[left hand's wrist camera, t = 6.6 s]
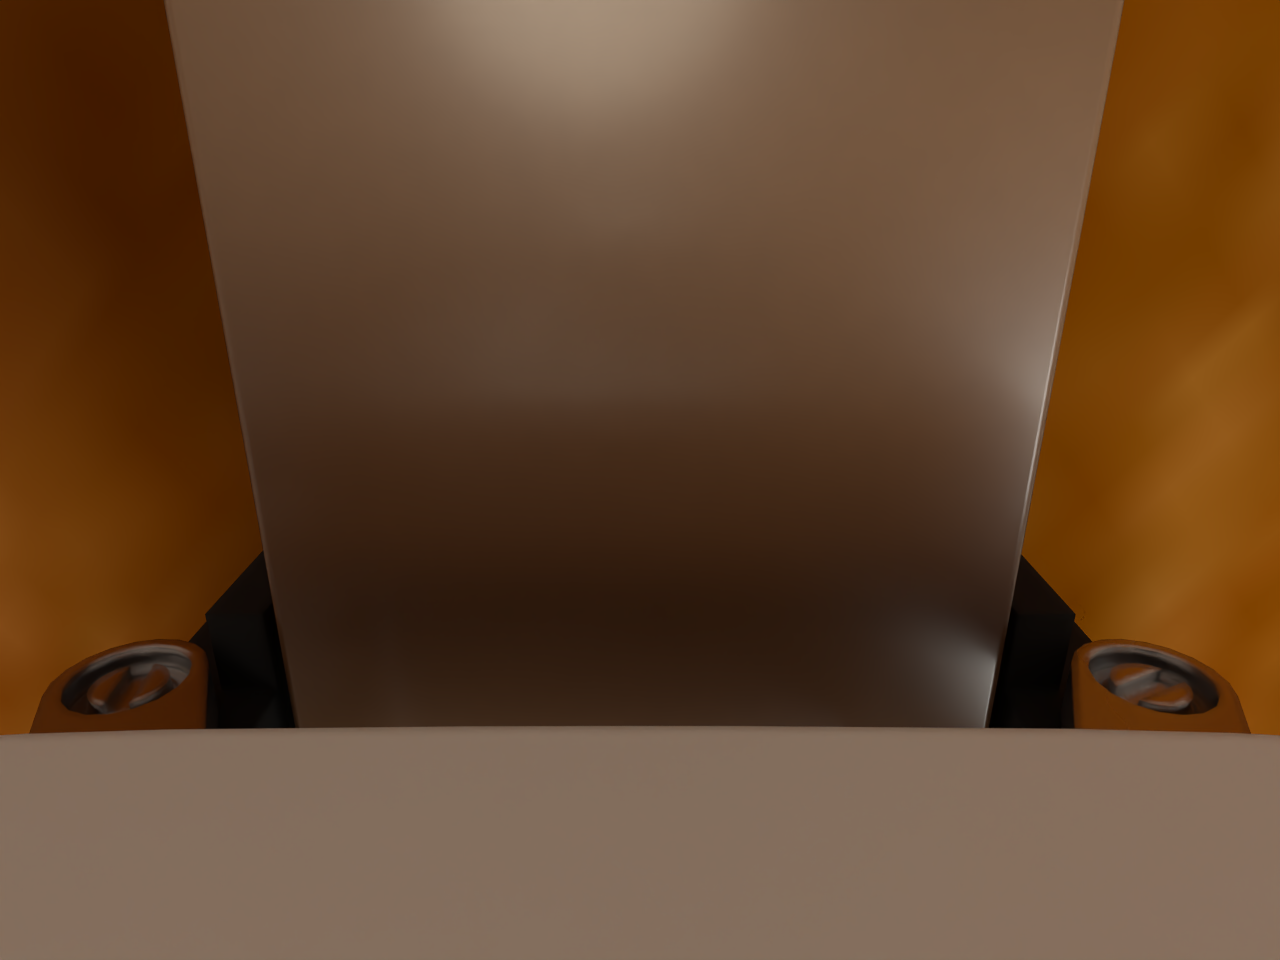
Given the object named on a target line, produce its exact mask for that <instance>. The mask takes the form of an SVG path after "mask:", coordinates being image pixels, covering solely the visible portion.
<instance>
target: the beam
mask: <svg viewBox="0 0 1280 960" xmlns="http://www.w3.org/2000/svg"><path fill="white" fill-rule="evenodd" d="M1123 4H1124V0H164V5H165V10H166V16H167V21H168V27H169V32H170V38H171V43H172V49H173V54H174V60H175V65H176V71H177V76H178V82H179V87H180V93H181V99H182V104H183V110H184V115H185V121H186V126H187V132H188V137H189V143H190V148H191V154H192V159H193V165H194V170H195V176H196V181H197V187H198V192H199V198H200V203H201V209H202V214H203V220H204V226H205V231H206V237H207V242H208V248H209V253H210V259H211V264H212V270H213V275H214V281H215V286H216V292H217V297H218V303H219V308H220V314H221V319H222V325H223V330H224V336H225V342H226V347H227V353H228V358H229V364H230V369H231V375H232V380H233V386H234V391H235V397H236V402H237V408H238V413H239V419H240V424H241V430H242V435H243V441H244V446H245V452H246V458H247V463H248V469H249V474H250V480H251V485H252V491H253V496H254V502H255V507H256V513H257V518H258V524H259V529H260V535H261V540H262V546H263V551H264V557H265V562H266V568H267V574H268V579H269V585H270V590H271V596H272V601H273V607H274V612H275V618H276V623H277V629H278V634H279V640H280V645H281V651H282V656H283V662H284V667H285V673H286V678H287V684H288V690H289V695H290V701H291V706H292V712H293V717H294V723H295V728H360V727H455V726H789V727H909V728H989V724H990V718H991V713H992V707H993V702H994V697H995V691H996V686H997V681H998V675H999V670H1000V664H1001V659H1002V654H1003V648H1004V643H1005V638H1006V632H1007V627H1008V622H1009V616H1010V611H1011V605H1012V600H1013V595H1014V589H1015V584H1016V579H1017V573H1018V568H1019V562H1020V557H1021V552H1022V546H1023V541H1024V536H1025V530H1026V525H1027V519H1028V514H1029V509H1030V503H1031V498H1032V493H1033V487H1034V482H1035V477H1036V471H1037V466H1038V460H1039V455H1040V450H1041V444H1042V439H1043V434H1044V428H1045V423H1046V417H1047V412H1048V407H1049V401H1050V396H1051V391H1052V385H1053V380H1054V374H1055V369H1056V364H1057V358H1058V353H1059V348H1060V342H1061V337H1062V331H1063V326H1064V321H1065V315H1066V310H1067V305H1068V299H1069V294H1070V289H1071V283H1072V278H1073V272H1074V267H1075V262H1076V256H1077V251H1078V246H1079V240H1080V235H1081V229H1082V224H1083V219H1084V213H1085V208H1086V203H1087V197H1088V192H1089V186H1090V181H1091V176H1092V170H1093V165H1094V160H1095V154H1096V149H1097V144H1098V138H1099V133H1100V127H1101V122H1102V117H1103V111H1104V106H1105V101H1106V95H1107V90H1108V84H1109V79H1110V74H1111V68H1112V63H1113V58H1114V52H1115V47H1116V41H1117V36H1118V31H1119V25H1120V20H1121V15H1122V9H1123Z"/></svg>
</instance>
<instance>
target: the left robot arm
mask: <svg viewBox="0 0 1280 960" xmlns="http://www.w3.org/2000/svg"><path fill="white" fill-rule="evenodd" d="M205 616H206V620H207V622H206V623H205V624H204V625H203V626H202V627H201V628H200V629H199V631H198V632H197V633H196V634H195V635H194V636H193V637H192V638H191V640H190V641H189V642H186V641H182V640H171V639H155V640H147V641H140V642H133V643H130V644H126V645H122V646H118V647H114V648H111V649H108V650H106V651H103V652H101V653H98V654H96V655H93V656H90V657H88V658H86V659H84V660H82V661H81V662H79V663H77V664H75V665H74V666H72V667H70V668H68V669H67V670H65V671H64V672H63V673H62V674H61V675H60V676H58V677H57V678H56V679H55V680H54V681H52V682H51V683H50V685H49V686H48V688H47V690H46V691H45V693H44V694H43V696H42V698H41V701H40V704H39V707H38V710H37V713H36V715H35V718H34V721H33V724H32V727H31V730H30V733H29V734H16V735H2V736H0V960H1280V736H1277V735H1260V734H1251V733H1250V730H1249V727H1248V724H1247V721H1246V718H1245V715H1244V713H1243V710H1242V707H1241V704H1240V701H1239V698H1238V696H1237V694H1236V693H1235V691H1234V690H1233V688H1232V686H1231V685H1230V683H1229V682H1228V681H1226V680H1225V679H1224V678H1223V677H1222V676H1220V675H1219V674H1218V673H1217V672H1216V671H1215V670H1213V669H1212V668H1210V667H1208V666H1206V665H1205V664H1203V663H1201V662H1199V661H1198V660H1196V659H1194V658H1192V657H1190V656H1187V655H1184V654H1182V653H1179V652H1177V651H1174V650H1172V649H1169V648H1166V647H1162V646H1158V645H1154V644H1150V643H1147V642H1140V641H1133V640H1125V639H1109V640H1098V641H1094V642H1092V641H1091V640H1090V639H1089V638H1088V637H1087V635H1086V634H1085V633H1084V632H1083V631H1082V630H1081V629H1080V628H1079V626H1078V625H1077V624H1076V623H1075V622H1074V619H1075V613H1074V612H1073V611H1072V610H1071V609H1070V608H1069V607H1068V606H1067V604H1066V603H1065V602H1064V601H1063V600H1062V599H1061V598H1060V597H1059V596H1058V594H1057V593H1056V592H1055V591H1054V590H1053V589H1052V588H1051V587H1050V586H1049V585H1048V583H1047V582H1046V581H1045V580H1044V579H1043V578H1042V577H1041V576H1040V575H1039V574H1038V572H1037V571H1036V570H1035V569H1034V568H1033V567H1032V566H1031V565H1030V564H1029V563H1028V561H1027V560H1026V559H1025V558H1024V557H1023V556H1022V555H1021V557H1020V562H1019V568H1018V573H1017V579H1016V584H1015V589H1014V595H1013V600H1012V605H1011V611H1010V616H1009V622H1008V627H1007V632H1006V638H1005V643H1004V648H1003V654H1002V659H1001V664H1000V670H999V675H998V681H997V686H996V691H995V697H994V702H993V707H992V713H991V718H990V724H989V728H909V727H789V726H455V727H360V728H295V723H294V717H293V712H292V706H291V701H290V695H289V690H288V684H287V678H286V673H285V667H284V662H283V656H282V651H281V645H280V640H279V634H278V629H277V623H276V618H275V612H274V607H273V601H272V596H271V590H270V585H269V579H268V574H267V568H266V562H265V557H264V551H262V552H261V553H260V554H259V556H258V557H257V558H256V559H255V560H254V561H253V562H252V563H251V564H250V565H249V567H248V568H247V569H246V570H245V571H244V572H243V573H242V574H241V575H240V576H239V578H238V579H237V580H236V581H235V582H234V583H233V584H232V585H231V586H230V588H229V589H228V590H227V591H226V592H225V593H224V594H223V595H222V596H221V597H220V599H219V600H218V601H217V602H216V603H215V604H214V605H213V606H212V607H211V608H210V610H209V611H208V612H207V613H206V614H205Z"/></svg>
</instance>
